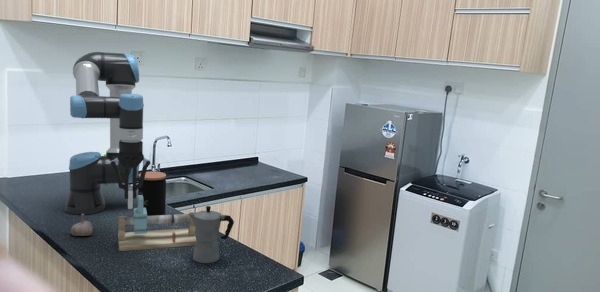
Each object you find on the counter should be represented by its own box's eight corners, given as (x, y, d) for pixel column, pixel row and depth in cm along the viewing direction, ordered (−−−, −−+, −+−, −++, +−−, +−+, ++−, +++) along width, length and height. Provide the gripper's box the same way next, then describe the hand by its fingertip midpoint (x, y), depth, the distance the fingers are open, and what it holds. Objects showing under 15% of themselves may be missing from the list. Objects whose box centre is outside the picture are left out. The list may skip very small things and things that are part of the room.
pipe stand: (118, 236, 169) (118, 211, 167) (191, 231, 179) (192, 207, 177) (118, 251, 157) (119, 223, 155) (197, 245, 167) (198, 219, 165)
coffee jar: (135, 214, 193) (136, 171, 189) (162, 212, 198) (163, 170, 194) (139, 223, 183) (140, 178, 180) (167, 220, 188) (168, 177, 185)
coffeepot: (181, 260, 154) (183, 208, 150) (192, 249, 163) (194, 199, 159) (227, 267, 152) (230, 213, 148) (235, 255, 161) (238, 205, 158)
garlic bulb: (96, 236, 168) (96, 215, 166) (74, 240, 163) (74, 218, 162) (89, 229, 174) (89, 209, 172) (67, 233, 169) (67, 212, 167)
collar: (133, 226, 167) (133, 194, 165) (145, 226, 169) (145, 194, 166) (134, 234, 161) (134, 200, 159) (146, 233, 162) (147, 200, 160)
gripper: (110, 142, 152) (109, 212, 156) (152, 142, 157) (150, 210, 161) (110, 138, 159) (109, 205, 163) (150, 138, 163) (149, 203, 168)
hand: (130, 207), depth 162 cm, fingers closed
